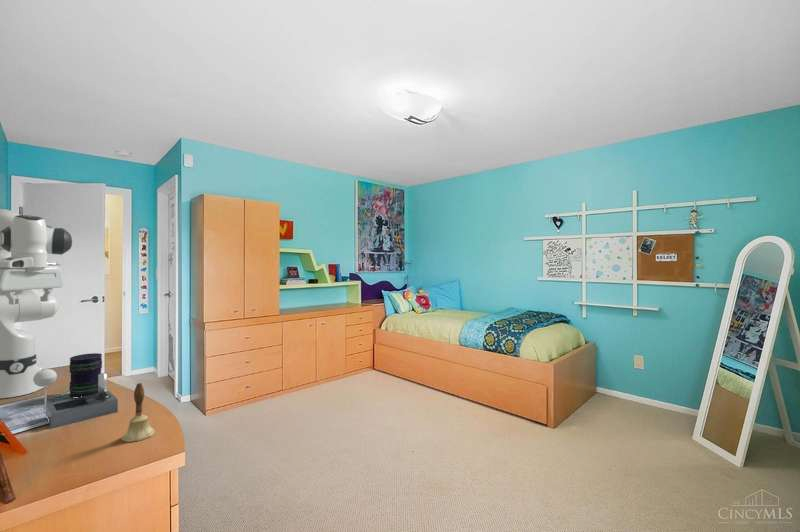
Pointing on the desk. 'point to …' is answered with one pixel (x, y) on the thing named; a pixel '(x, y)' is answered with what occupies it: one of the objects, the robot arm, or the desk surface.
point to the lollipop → (45, 380)
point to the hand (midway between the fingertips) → (29, 302)
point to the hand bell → (138, 420)
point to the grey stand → (83, 406)
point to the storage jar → (85, 374)
